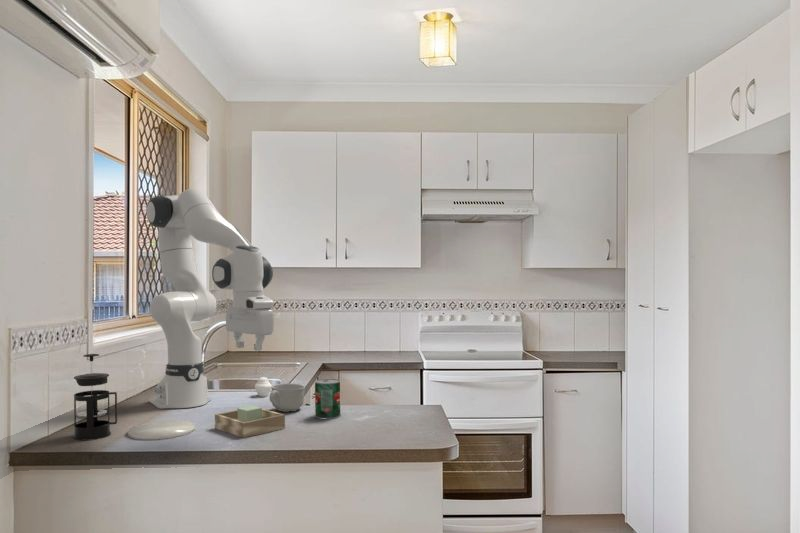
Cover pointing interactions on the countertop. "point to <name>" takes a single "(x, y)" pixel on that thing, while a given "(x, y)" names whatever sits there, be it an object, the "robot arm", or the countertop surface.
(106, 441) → the countertop surface
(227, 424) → the wooden frame
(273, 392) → the teacup
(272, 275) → the robot arm
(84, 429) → the french press
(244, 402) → the countertop surface
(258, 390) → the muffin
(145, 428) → the white round dish
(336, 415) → the canned tomato
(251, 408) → the block
